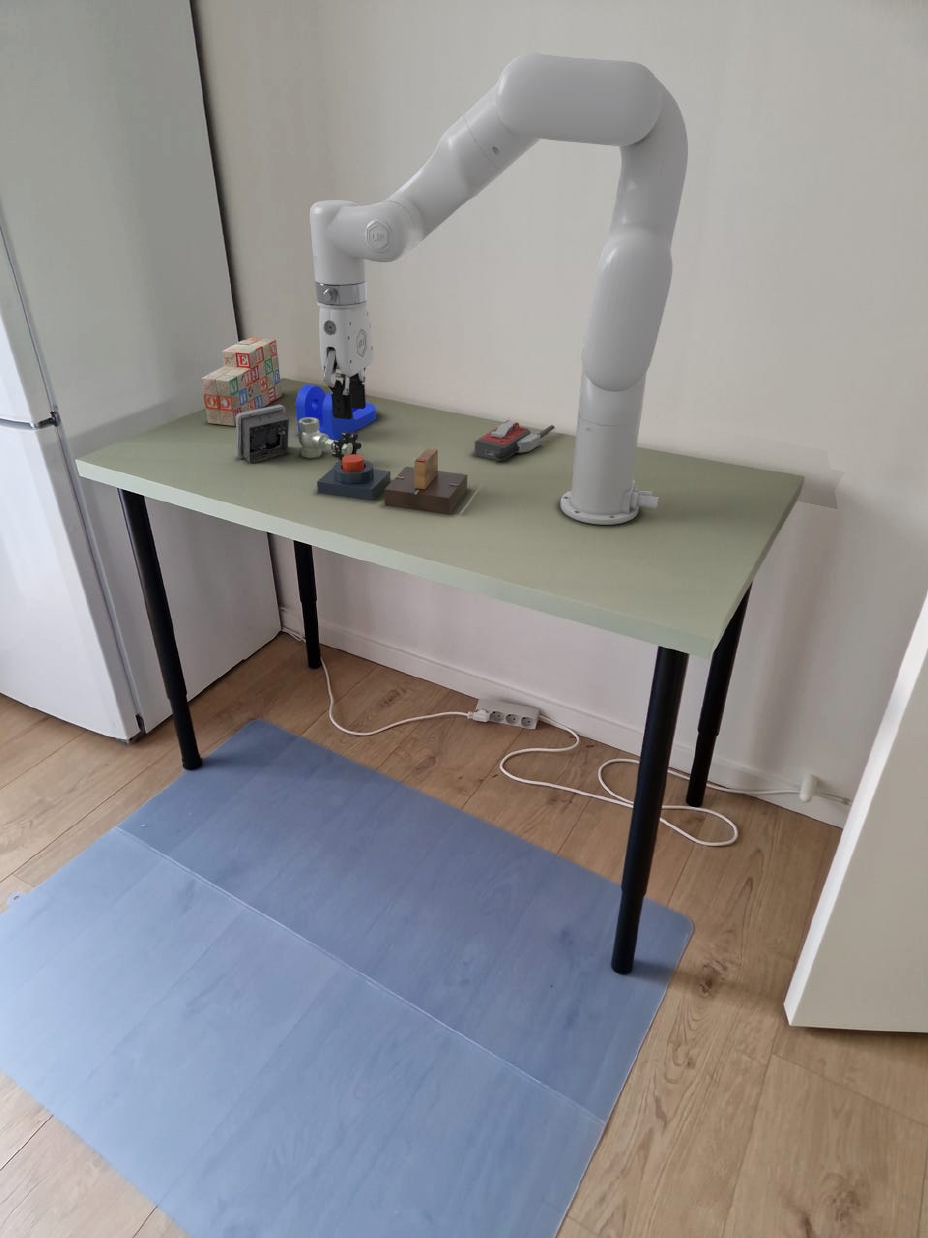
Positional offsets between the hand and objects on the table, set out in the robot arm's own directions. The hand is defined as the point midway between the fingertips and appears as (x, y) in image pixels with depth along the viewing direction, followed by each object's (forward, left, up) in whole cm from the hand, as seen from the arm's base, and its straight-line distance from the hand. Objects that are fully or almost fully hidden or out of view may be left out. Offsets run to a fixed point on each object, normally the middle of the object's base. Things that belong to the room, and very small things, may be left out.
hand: (349, 411), depth 131 cm
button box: (0, 0, -13) cm, 13 cm away
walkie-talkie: (-21, -28, -14) cm, 38 cm away
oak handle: (-13, 0, -10) cm, 17 cm away
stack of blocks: (+38, -30, -14) cm, 51 cm away
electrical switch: (+21, -8, -14) cm, 26 cm away
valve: (+10, -10, -14) cm, 20 cm away
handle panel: (-13, 0, -13) cm, 19 cm away
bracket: (+15, -28, -14) cm, 34 cm away
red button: (0, 0, -10) cm, 10 cm away
